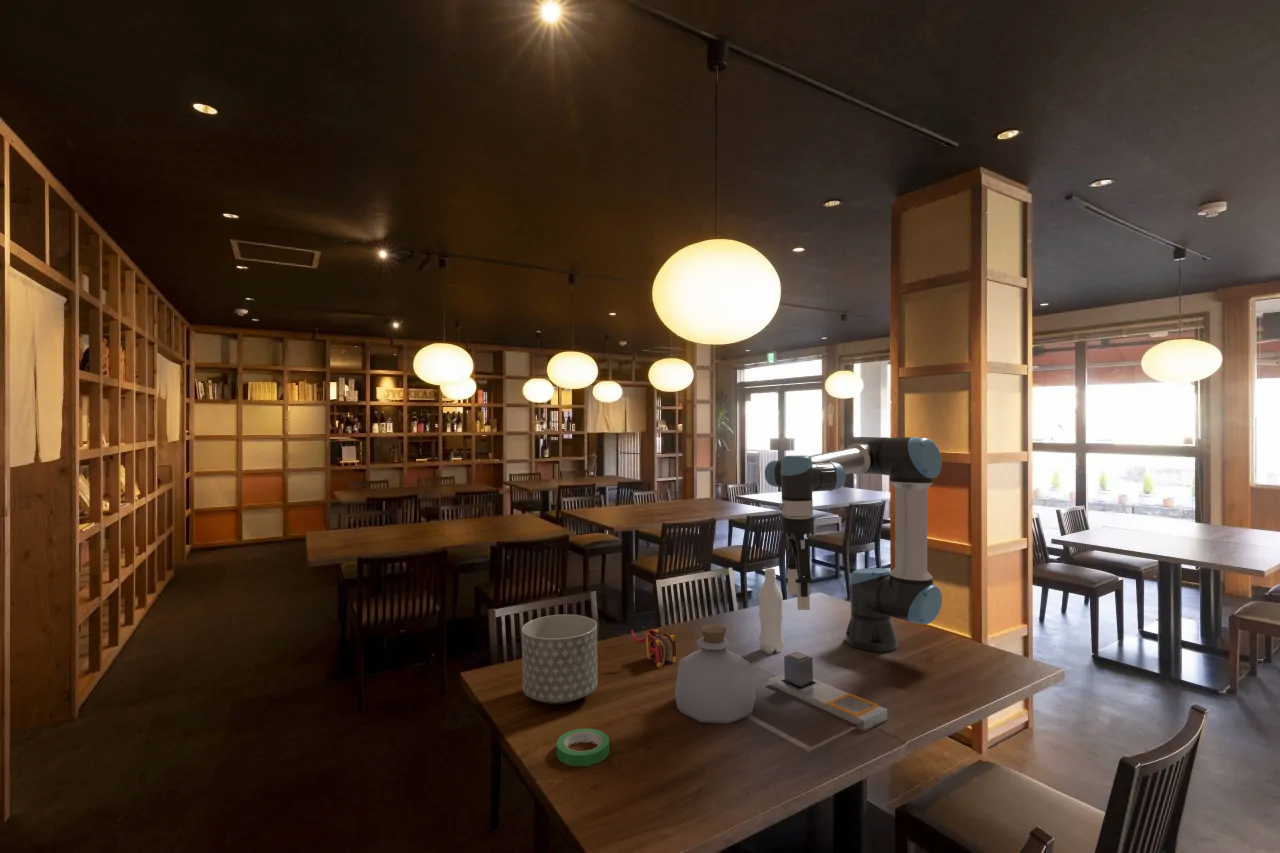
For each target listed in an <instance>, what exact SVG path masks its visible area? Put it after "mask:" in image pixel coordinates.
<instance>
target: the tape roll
mask: <svg viewBox="0 0 1280 853" xmlns="http://www.w3.org/2000/svg"><path fill="white" fill-rule="evenodd" d="M583 741H585V742H583ZM578 742H582V743H589V742H593V743H592V744H594V743H595V744H594V745H596V744H597V746H595V747H594V748H592V749H591V748H590V749H587V750H576V749H571V748H570V747H568V746H569V745H571V744H574V743H577V744H579V743H578ZM574 745H575V744H574ZM571 746H572V745H571ZM609 753H610V737H609V736H608V735H607V734H606V733H605V732H603V731H602V730H599V729H595V728H578V729H577V728H576V729H574V730H570V731H567V732H565V733H563V734H562V735H561V736H559V737H558V739H557V740H556V757H558V758H559V759H558V758H557V759H558V761H560V762H561V761H562V762H563V763H562V762H561V763H562V764H564V763H565V764H564V765H566V764H568V765H567V766H569V765H572V766H571V767H574V766H586V767H588V766H587V765H591V766H593V765H592V764H595V763H597V764H599V763H598V762H600V763H601V762H602V760H603V761H604V760H605V759H606V758H608V755H609ZM595 765H596V764H595Z"/></svg>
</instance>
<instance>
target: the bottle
mask: <svg viewBox="0 0 1280 853" xmlns="http://www.w3.org/2000/svg"><path fill="white" fill-rule="evenodd" d="M700 631H701V634H702V636H701V637H700V638H698V639H697V640H696V643H697V644H696V645H697V646H698V647H699V648H701V649H699V650H695V651H693V652H692V653H690V654H688V655H685V656H684V657H682V658H680V659H679V660H678V661H679V662H678V667H677V676H676V681H675V682H676V683H675V689H674V698H675V702H676V703H675V704H676V707H677V709H678V711H679V712H680V713H681V714H682V715H685V716H687V717H689V718H690V719H694V720H695V721H697V722H699V723H708V724H723V725H725V724H726V725H729V724H732V723H734V722H737V721H739V720H740V721H741V720H742V719H745V718H749V716H750V715H751V714H752V713H753V710H754V707H755V703H756V700H757V698H756V697H757V696H756V692H755V686H754V680H753V673H752V667H751V662H749V661H747V660H746V659H745V658H743V657H742V656H740V655H738V654H737V653H735V652H733V651H729V650H728V649H727V648H730V647H731V645H732V642H731V640H730V639H729V638H727V637H725V636H726V631H727V627H725V626H723V625H720V624H705V625H703V626H701V629H700Z"/></svg>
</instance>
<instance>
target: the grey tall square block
mask: <svg viewBox="0 0 1280 853" xmlns="http://www.w3.org/2000/svg"><path fill="white" fill-rule="evenodd" d="M783 659H784V661H783V662H784V665H783V666H784V669H783V670H784V672H783V673H784V674H785V683H787V684H789V685H791V686H793V687H796V688H798V689H800V690H801V689H803V688H806V687H808V686H811V685H813V679H814V675H813V674H814V670H813V657H812V656H809V655H807V654H803V653H802V652H799V651H796V652H792V653H789V654H786V655H783Z"/></svg>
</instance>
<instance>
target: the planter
mask: <svg viewBox="0 0 1280 853" xmlns="http://www.w3.org/2000/svg"><path fill="white" fill-rule="evenodd" d="M597 626H598V624H597V621H595V620H594V619H593V618H591V617H588V616H583V615H580V614H553V615H546V616H542V617H538V618H535V619H532V620H531V619H530V621H527V622H526V623H525V624H523V626H522V628H521V653H522V654H521V662H522V663H521V665H522V667H521V668H522V669H521V670H522V692H523V694H524V695H525V696H527V697H528V698H530V699H531V700H534V701H538V702H543V703H546V704H548V705H565V704H569V703H572V702H575V701H578V700H580V699H582V698H585V697H586V696H589V695H590V694H592V693H593V692H594V691H595V690H596V689H597V687H598V684H599V682H598V680H599V677H598V676H599V675H598V672H599V671H598V627H597Z"/></svg>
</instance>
